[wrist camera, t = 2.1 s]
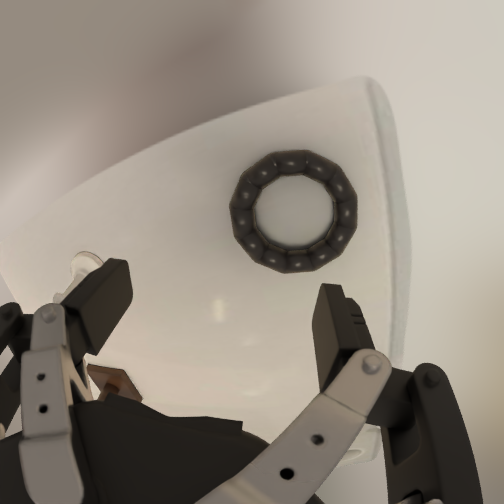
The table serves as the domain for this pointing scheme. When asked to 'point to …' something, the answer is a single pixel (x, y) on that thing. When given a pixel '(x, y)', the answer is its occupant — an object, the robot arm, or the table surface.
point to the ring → (292, 166)
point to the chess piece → (79, 272)
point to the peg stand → (112, 382)
